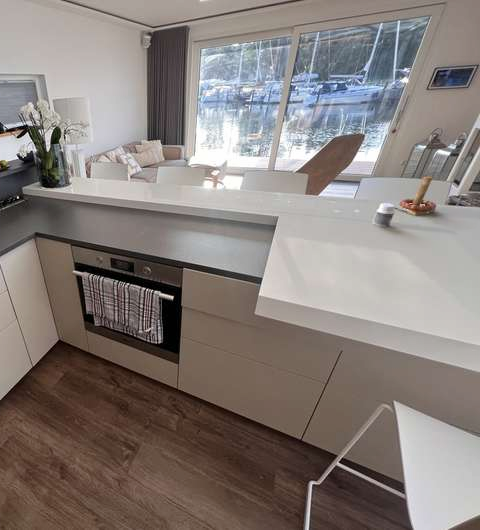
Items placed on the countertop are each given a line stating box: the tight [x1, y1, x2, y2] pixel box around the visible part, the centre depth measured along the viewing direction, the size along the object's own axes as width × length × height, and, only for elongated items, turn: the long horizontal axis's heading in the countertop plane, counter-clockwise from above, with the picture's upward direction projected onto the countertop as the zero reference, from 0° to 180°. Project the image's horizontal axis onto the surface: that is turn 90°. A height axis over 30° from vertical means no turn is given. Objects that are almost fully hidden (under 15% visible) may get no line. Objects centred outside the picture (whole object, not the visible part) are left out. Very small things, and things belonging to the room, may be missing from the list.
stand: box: [406, 176, 436, 216], centre depth 112 cm, size 8×8×13 cm
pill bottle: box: [371, 202, 396, 228], centre depth 103 cm, size 5×5×8 cm
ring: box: [398, 198, 437, 211], centre depth 114 cm, size 10×10×2 cm
